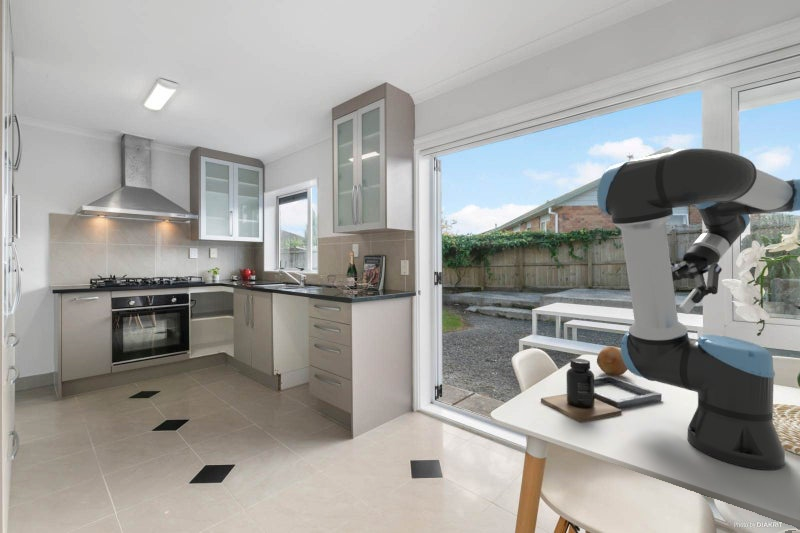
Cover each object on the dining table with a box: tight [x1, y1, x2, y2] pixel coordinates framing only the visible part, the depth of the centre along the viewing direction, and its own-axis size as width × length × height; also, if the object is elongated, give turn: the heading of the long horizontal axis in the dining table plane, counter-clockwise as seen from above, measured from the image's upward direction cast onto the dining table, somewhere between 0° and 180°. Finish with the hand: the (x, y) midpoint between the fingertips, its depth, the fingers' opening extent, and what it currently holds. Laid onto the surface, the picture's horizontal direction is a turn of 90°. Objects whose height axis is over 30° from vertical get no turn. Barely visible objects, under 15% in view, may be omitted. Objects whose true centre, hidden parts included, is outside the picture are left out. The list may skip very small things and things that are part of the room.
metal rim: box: [594, 375, 663, 410], centre depth 108 cm, size 17×17×2 cm
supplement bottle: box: [566, 358, 595, 409], centre depth 98 cm, size 7×7×12 cm
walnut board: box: [540, 393, 623, 423], centre depth 98 cm, size 14×14×1 cm
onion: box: [596, 345, 629, 377], centre depth 126 cm, size 10×10×10 cm
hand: (660, 306), depth 101 cm, fingers open, 13 cm apart
